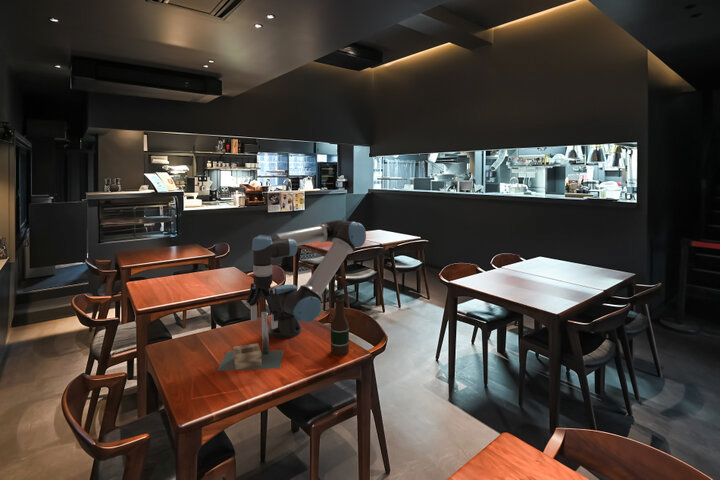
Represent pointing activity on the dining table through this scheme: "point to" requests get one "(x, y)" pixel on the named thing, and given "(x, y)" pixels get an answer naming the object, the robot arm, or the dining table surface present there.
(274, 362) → the felt mat
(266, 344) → the metal peg
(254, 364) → the wooden square socket block
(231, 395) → the dining table surface
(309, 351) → the dining table surface
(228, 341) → the dining table surface
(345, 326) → the beer bottle
